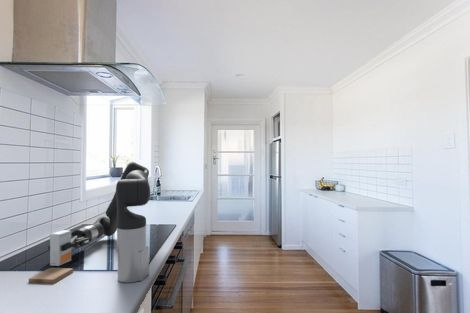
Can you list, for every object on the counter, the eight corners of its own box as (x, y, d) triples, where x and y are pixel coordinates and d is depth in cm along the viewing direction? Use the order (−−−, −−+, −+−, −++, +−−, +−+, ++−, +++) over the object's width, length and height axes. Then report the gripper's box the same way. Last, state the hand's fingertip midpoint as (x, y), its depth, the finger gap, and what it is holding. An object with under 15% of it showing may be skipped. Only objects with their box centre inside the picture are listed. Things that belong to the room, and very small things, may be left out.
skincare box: (59, 266, 104) (58, 234, 104) (49, 265, 105) (49, 234, 105) (71, 260, 110) (71, 230, 110) (62, 259, 111) (62, 229, 111)
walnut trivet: (73, 271, 99) (73, 268, 99) (54, 283, 90) (54, 279, 90) (49, 271, 100) (49, 267, 100) (28, 282, 91) (28, 278, 91)
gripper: (69, 226, 122) (38, 238, 105) (99, 227, 121) (72, 238, 104) (69, 243, 122) (38, 257, 105) (100, 244, 121) (73, 258, 104)
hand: (55, 248), depth 105 cm, fingers closed on skincare box, 4 cm apart
